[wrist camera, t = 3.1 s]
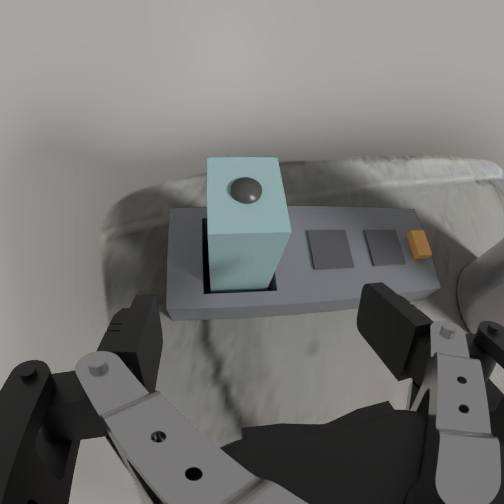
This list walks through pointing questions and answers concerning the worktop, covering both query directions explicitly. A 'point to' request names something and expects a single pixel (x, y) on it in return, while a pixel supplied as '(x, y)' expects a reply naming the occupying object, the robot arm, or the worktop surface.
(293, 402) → the worktop surface
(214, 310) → the power strip
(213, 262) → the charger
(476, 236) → the worktop surface
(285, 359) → the worktop surface
